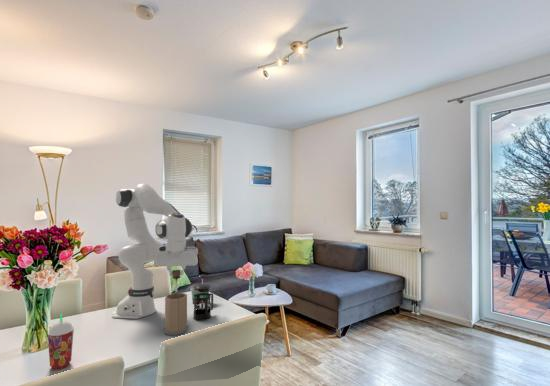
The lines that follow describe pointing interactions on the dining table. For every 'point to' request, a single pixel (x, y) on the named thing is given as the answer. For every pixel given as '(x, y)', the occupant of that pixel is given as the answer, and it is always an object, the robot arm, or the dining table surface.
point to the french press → (202, 308)
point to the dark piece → (197, 293)
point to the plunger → (175, 276)
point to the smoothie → (60, 343)
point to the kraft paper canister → (175, 314)
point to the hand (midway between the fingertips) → (176, 274)
